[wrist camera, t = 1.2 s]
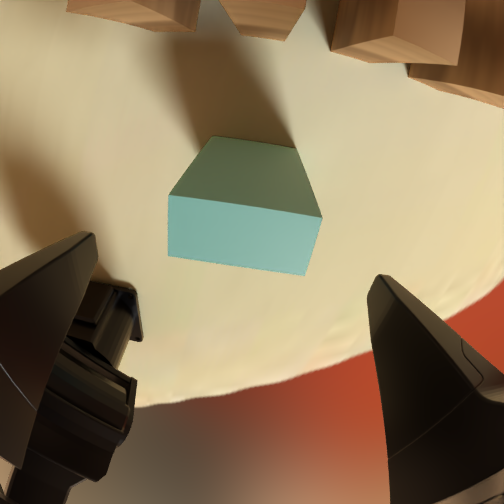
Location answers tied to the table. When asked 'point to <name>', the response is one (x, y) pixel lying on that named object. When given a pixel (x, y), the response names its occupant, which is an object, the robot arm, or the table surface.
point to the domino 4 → (473, 57)
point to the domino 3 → (400, 30)
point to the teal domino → (244, 208)
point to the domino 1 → (143, 13)
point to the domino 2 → (264, 16)
